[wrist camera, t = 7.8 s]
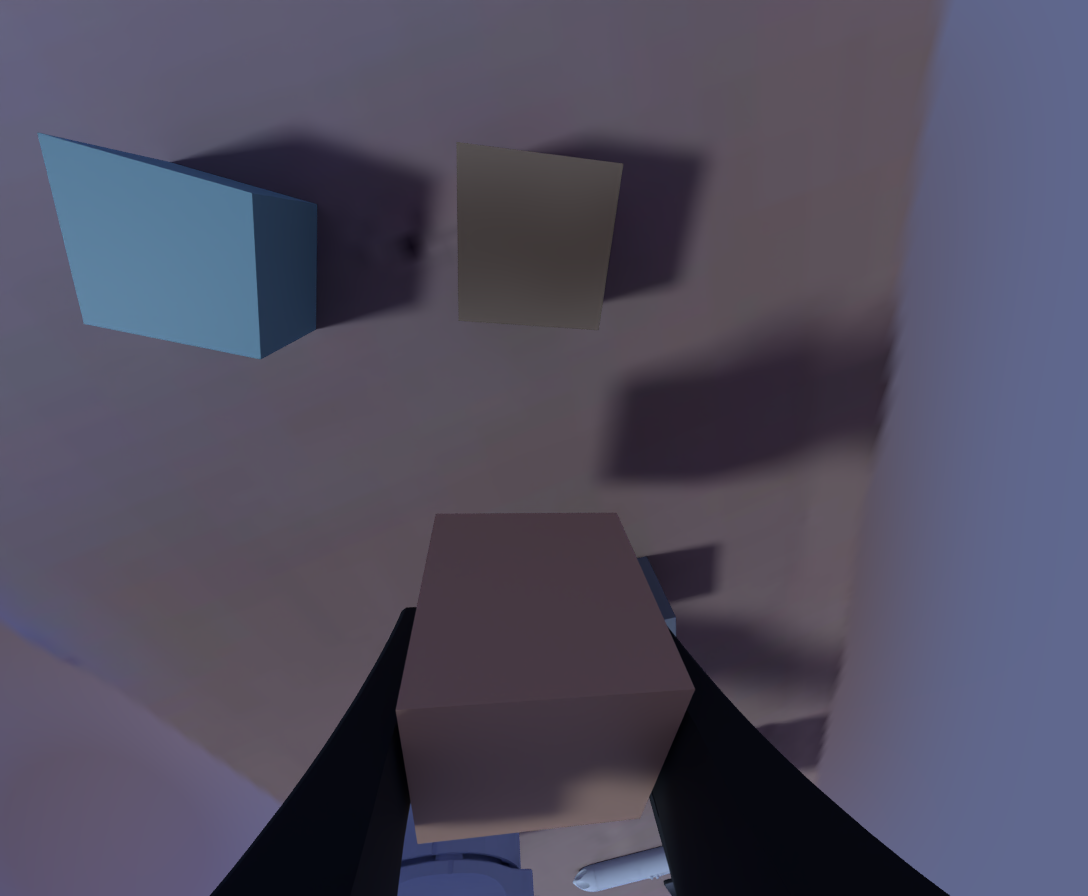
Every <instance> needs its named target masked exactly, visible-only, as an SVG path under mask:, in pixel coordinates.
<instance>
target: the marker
mask: <svg viewBox="0 0 1088 896" xmlns="http://www.w3.org/2000/svg"><path fill="white" fill-rule="evenodd" d="M669 873H670V870H669V867H668V863H667V860H666V856H665V852H664V849H663V846H661V847H657V848H653V849H649V850H645V851H642V852H638V853H634V854H630V855H626V856H622V857H618V858H614V859H611V860H607V861H603V862H599V863H595V864H591V865H588V866H586V867H584V868H582V869H581V870H580V871H579V873H578V874H577V875H576V877H575V878H574V881H573V883H574V884H575V885H576V886H577V887H578V888H580V889H582V890H585V891H589V892H596V891H601V890H605V889H608V888H612V887H616V886H620V885H624V884H628V883H632V882H637V881H641V880H643V879H647V878H650V879H652V878H653V877H656V878H657V879H658V878H659V876H662V875H665V874H669ZM661 878H662V877H661ZM652 880H653V879H652Z"/></svg>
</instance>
